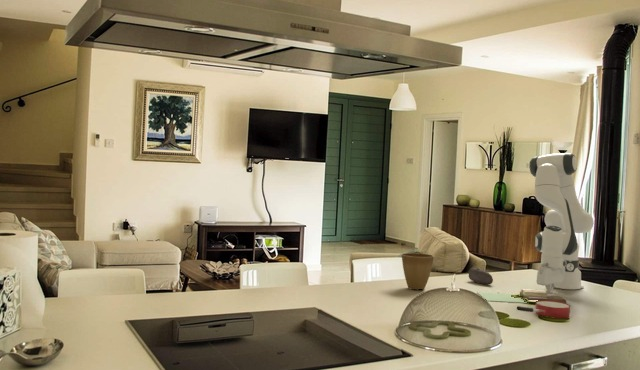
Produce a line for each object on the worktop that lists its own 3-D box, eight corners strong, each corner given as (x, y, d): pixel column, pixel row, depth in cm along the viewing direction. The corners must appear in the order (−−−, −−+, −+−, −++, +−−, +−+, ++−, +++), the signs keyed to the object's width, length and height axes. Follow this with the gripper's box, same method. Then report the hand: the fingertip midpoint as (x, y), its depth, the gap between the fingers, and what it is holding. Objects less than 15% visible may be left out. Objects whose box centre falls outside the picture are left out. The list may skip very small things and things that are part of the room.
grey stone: (495, 286, 308) (496, 272, 308) (487, 286, 306) (488, 272, 305) (475, 280, 321) (475, 267, 321) (467, 281, 319) (467, 267, 319)
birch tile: (521, 292, 282) (521, 288, 282) (543, 294, 281) (544, 290, 281) (524, 295, 276) (524, 291, 276) (547, 296, 275) (547, 292, 275)
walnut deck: (519, 295, 285) (519, 291, 285) (554, 297, 285) (555, 293, 285) (529, 302, 271) (529, 297, 271) (566, 304, 271) (566, 299, 271)
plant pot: (438, 289, 291) (439, 255, 290) (421, 293, 280) (422, 258, 279) (411, 284, 301) (413, 251, 300) (393, 288, 290) (395, 253, 289)
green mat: (477, 292, 288) (477, 292, 288) (517, 294, 287) (517, 294, 287) (486, 301, 270) (486, 300, 270) (529, 303, 269) (529, 302, 269)
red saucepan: (540, 328, 226) (541, 311, 226) (507, 321, 235) (508, 304, 235) (574, 315, 249) (575, 300, 249) (543, 309, 258) (544, 294, 258)
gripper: (547, 265, 268) (545, 297, 268) (568, 261, 282) (566, 292, 282) (533, 263, 272) (531, 294, 273) (554, 260, 286) (553, 289, 287)
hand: (549, 293), depth 278 cm, fingers closed
